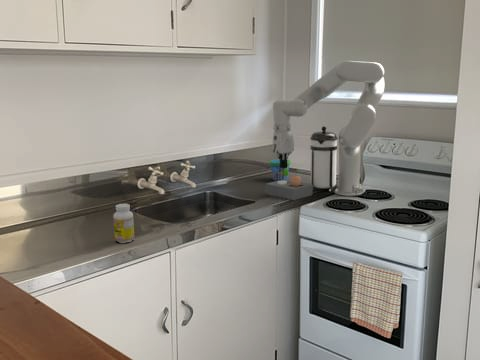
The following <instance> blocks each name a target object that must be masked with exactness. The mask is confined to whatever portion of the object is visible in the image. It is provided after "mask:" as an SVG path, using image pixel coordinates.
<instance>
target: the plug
mask: <svg viewBox="0 0 480 360" xmlns="http://www.w3.org/2000/svg"><path fill="white" fill-rule="evenodd" d="M277 184H282V185H283V184H287V181H278V182H277Z"/></svg>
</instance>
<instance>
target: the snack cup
mask: <svg viewBox="0 0 480 360" xmlns="http://www.w3.org/2000/svg"><path fill="white" fill-rule="evenodd" d="M269 165H270V169H271V177H272V180H273V181H274V182H275V181H280V180H284V179H286V180H288V178H289V170H290V165H291V160H290V159H287V168H280V160H279V158H277V159H272V160H269Z"/></svg>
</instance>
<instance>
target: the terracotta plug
mask: <svg viewBox="0 0 480 360" xmlns="http://www.w3.org/2000/svg"><path fill="white" fill-rule="evenodd" d="M290 178H291V179H290V180H291V186H292V187H300V186H301V182H302V176H300V175H292V176H291V177H290Z"/></svg>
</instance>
